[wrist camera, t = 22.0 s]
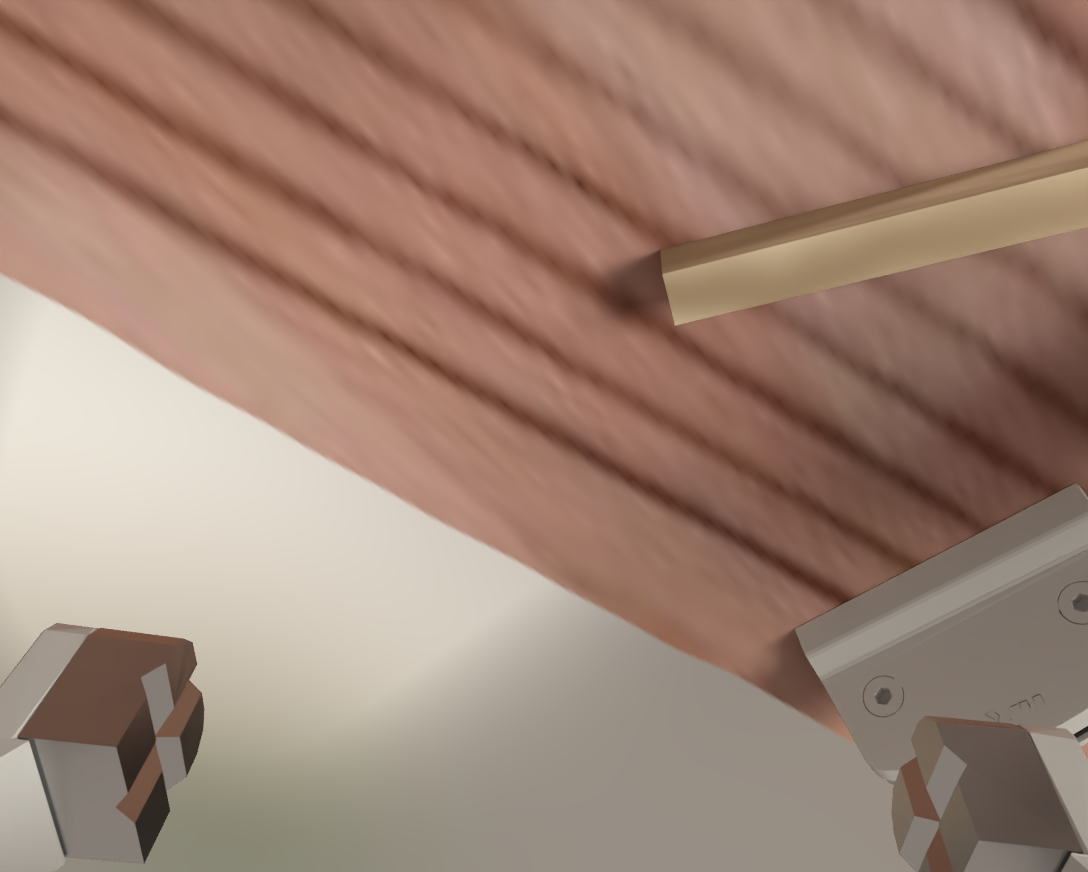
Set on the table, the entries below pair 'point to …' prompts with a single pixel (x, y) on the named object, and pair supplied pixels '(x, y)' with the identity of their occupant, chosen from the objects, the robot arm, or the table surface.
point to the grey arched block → (966, 636)
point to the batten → (880, 234)
